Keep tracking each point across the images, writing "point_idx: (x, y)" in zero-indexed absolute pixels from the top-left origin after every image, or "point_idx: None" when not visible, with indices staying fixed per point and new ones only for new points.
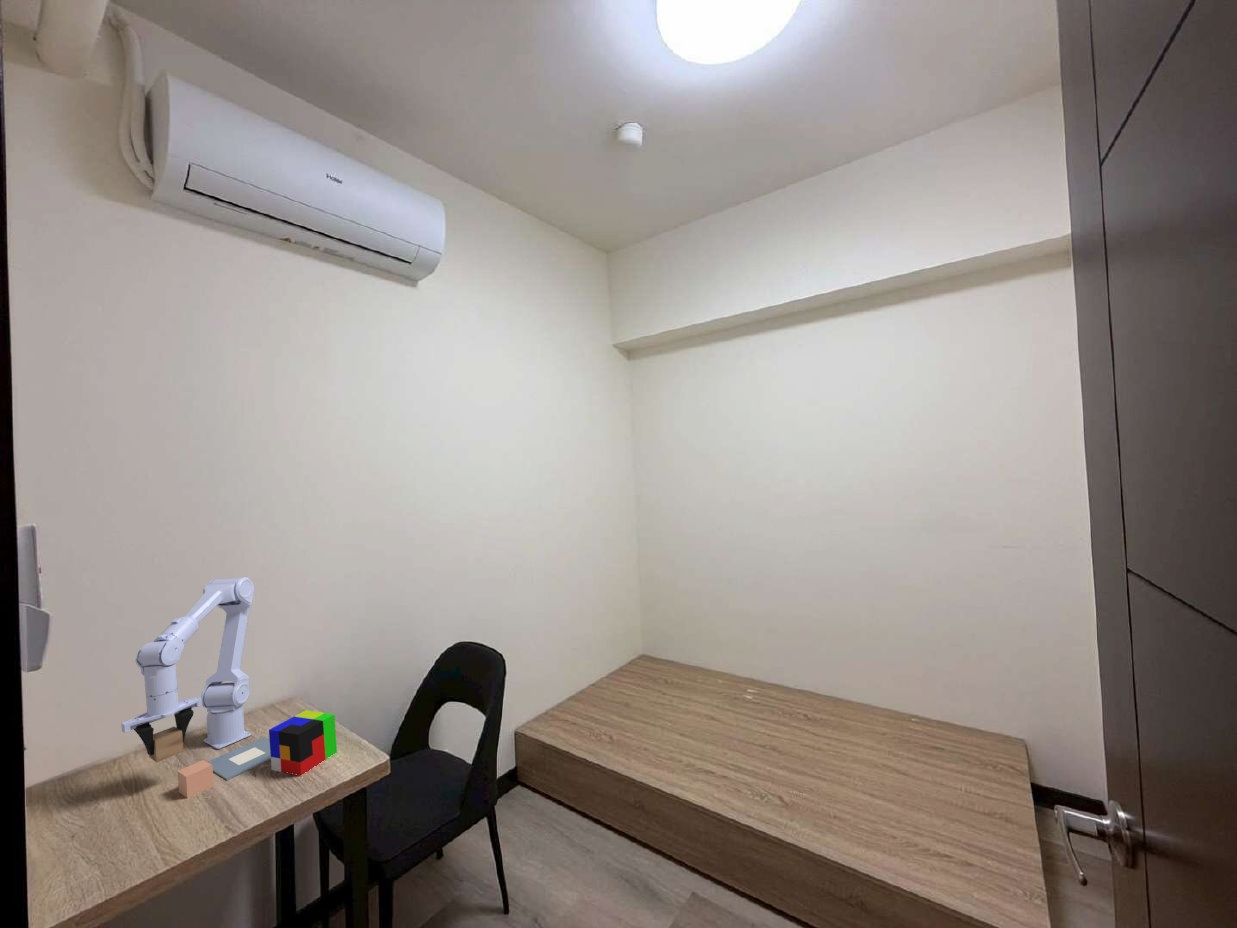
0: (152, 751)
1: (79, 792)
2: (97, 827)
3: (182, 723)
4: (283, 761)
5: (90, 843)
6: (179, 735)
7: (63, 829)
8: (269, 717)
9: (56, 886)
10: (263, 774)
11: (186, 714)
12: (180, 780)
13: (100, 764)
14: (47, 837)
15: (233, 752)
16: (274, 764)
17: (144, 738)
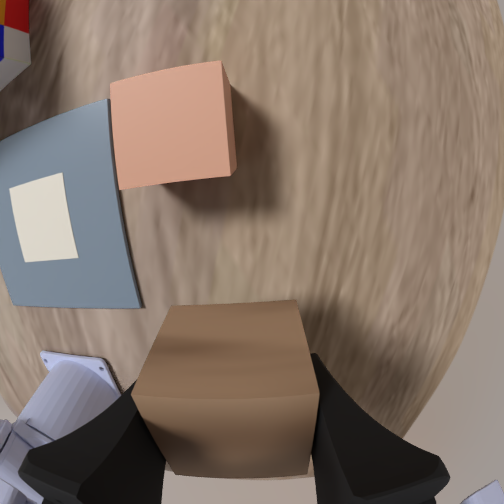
0: (312, 363)
1: (377, 413)
2: (440, 180)
3: (111, 445)
4: (9, 17)
5: (460, 105)
6: (156, 376)
7: (468, 261)
8: (27, 390)
9: (491, 14)
10: (49, 51)
11: (48, 484)
12: (230, 142)
13: (307, 475)
14: (487, 254)
15: (67, 291)
16: (18, 49)
17: (391, 432)
